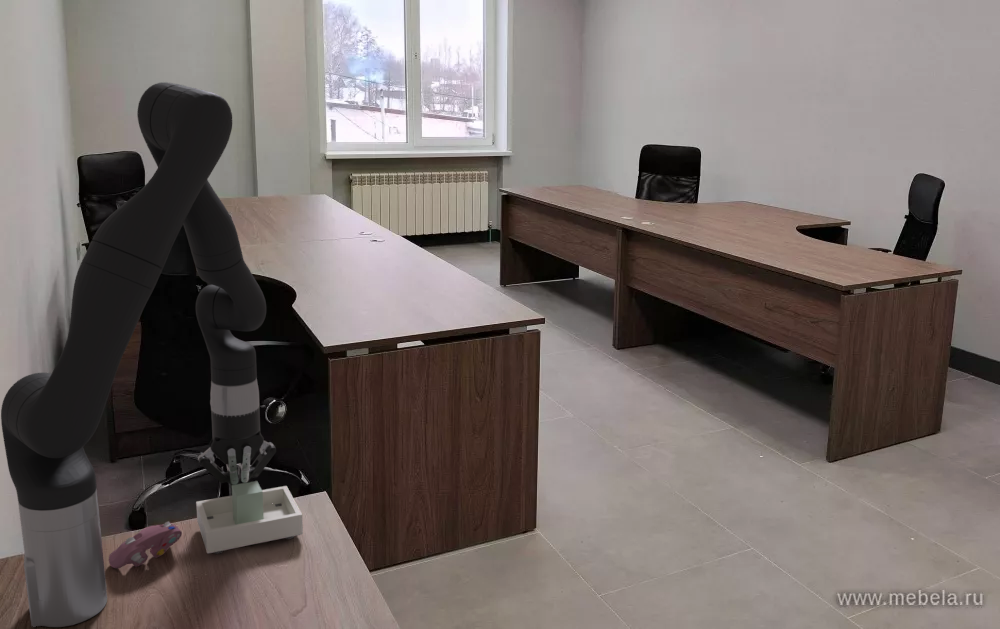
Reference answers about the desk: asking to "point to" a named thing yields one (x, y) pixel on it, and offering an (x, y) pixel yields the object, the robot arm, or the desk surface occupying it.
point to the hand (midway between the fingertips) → (239, 501)
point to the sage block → (247, 502)
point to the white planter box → (225, 534)
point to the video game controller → (145, 545)
